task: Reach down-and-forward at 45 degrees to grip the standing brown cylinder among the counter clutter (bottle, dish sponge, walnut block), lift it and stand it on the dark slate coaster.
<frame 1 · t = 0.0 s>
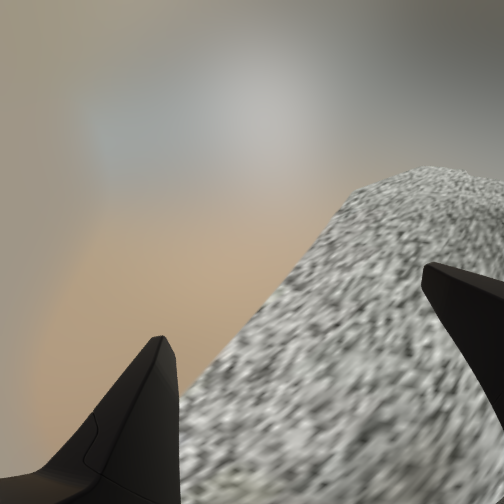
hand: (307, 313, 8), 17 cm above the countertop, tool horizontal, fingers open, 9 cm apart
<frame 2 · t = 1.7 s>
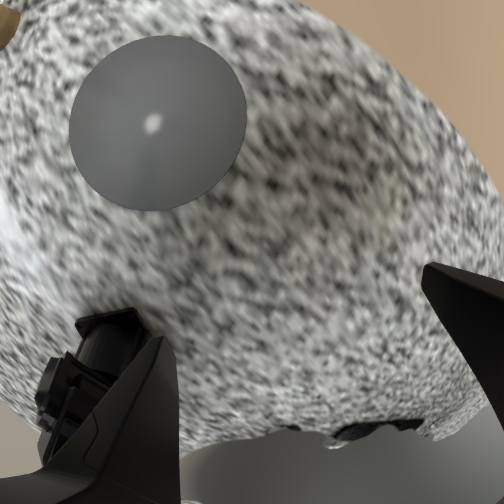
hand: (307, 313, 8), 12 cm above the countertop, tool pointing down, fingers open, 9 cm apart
slate coaster: (152, 120, 16), on the countertop
brown cylinder: (1, 32, 9), on the countertop
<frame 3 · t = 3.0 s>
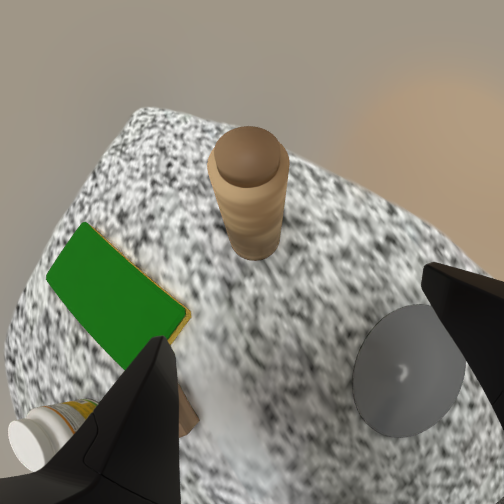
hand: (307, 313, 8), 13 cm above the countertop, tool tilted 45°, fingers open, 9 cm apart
slate coaster: (415, 372, 19), on the countertop
dish sponge: (116, 298, 23), on the countertop
supplement bottle: (95, 424, 19), on the countertop
walnut block: (167, 408, 20), on the countertop
brown cylinder: (254, 236, 24), on the countertop
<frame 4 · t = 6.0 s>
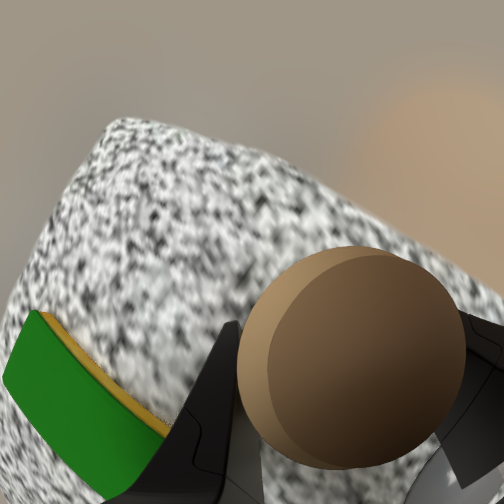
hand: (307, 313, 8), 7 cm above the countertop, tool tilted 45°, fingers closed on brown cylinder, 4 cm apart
slate coaster: (468, 479, 10), on the countertop
dish sponge: (94, 415, 14), on the countertop
brown cylinder: (295, 350, 14), on the countertop, touching gripper
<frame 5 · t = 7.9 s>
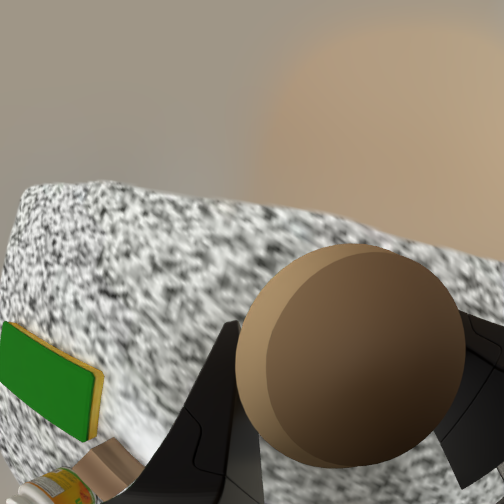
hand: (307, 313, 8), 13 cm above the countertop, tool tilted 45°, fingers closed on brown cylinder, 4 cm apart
dish sponge: (51, 377, 20), on the countertop
supplement bottle: (78, 486, 16), on the countertop
walnut block: (119, 462, 17), on the countertop
brown cylinder: (295, 349, 14), point 6 cm above the countertop, touching gripper
when the fingers open (7 cm above the countertop, at t = 9.8 s): brown cylinder stays where it is, resting on slate coaster.
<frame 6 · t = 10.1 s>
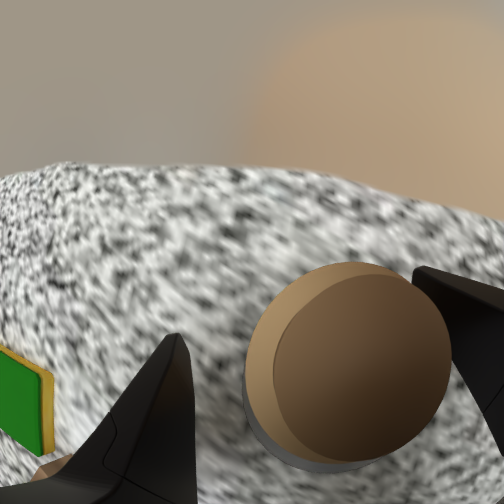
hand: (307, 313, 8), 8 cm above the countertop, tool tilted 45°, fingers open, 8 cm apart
slate coaster: (346, 382, 14), on the countertop
dish sponge: (8, 384, 15), on the countertop
walnut block: (81, 483, 12), on the countertop
brown cylinder: (294, 351, 15), resting on slate coaster
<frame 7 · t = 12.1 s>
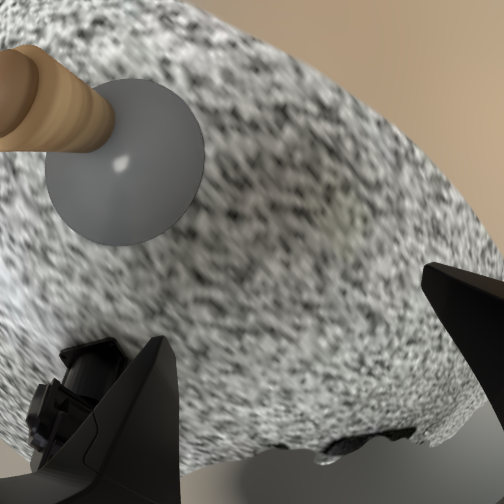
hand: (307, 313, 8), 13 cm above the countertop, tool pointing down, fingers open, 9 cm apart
slate coaster: (119, 161, 17), on the countertop
brown cylinder: (87, 124, 15), resting on slate coaster
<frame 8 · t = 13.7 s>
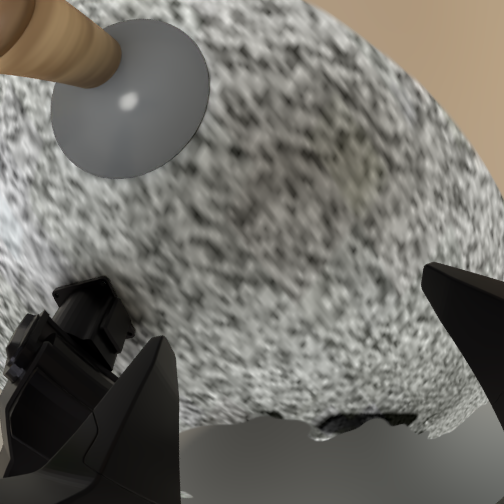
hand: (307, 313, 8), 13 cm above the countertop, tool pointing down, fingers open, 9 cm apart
slate coaster: (123, 95, 15), on the countertop
brown cylinder: (94, 61, 13), resting on slate coaster
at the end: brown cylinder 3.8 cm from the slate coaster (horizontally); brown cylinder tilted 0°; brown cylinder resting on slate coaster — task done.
